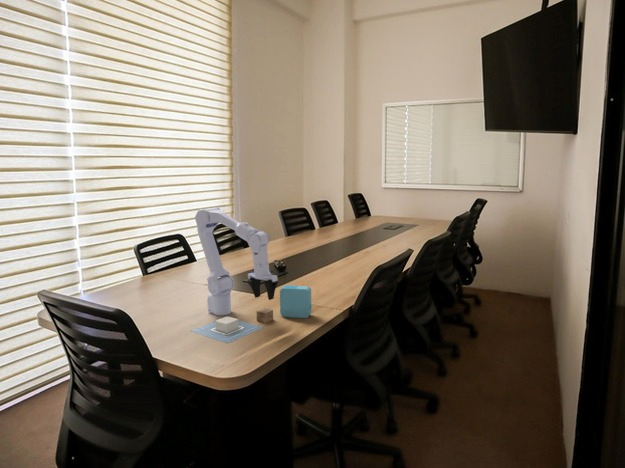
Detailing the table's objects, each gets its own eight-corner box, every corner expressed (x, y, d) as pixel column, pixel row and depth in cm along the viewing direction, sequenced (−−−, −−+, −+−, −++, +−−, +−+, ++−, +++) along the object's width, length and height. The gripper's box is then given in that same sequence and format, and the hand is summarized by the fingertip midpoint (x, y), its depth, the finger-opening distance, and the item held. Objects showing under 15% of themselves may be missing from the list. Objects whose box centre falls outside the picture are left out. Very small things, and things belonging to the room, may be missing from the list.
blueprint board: (190, 333, 164) (190, 330, 163) (227, 319, 178) (226, 316, 178) (227, 346, 152) (227, 342, 152) (264, 329, 166) (263, 326, 166)
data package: (311, 314, 182) (311, 286, 180) (309, 318, 178) (308, 289, 176) (283, 313, 184) (282, 285, 182) (280, 316, 180) (279, 288, 178)
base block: (215, 329, 164) (215, 320, 163) (227, 325, 169) (227, 316, 168) (226, 333, 160) (226, 324, 160) (238, 328, 165) (238, 319, 165)
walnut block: (256, 323, 173) (256, 311, 172) (264, 320, 177) (264, 307, 176) (265, 325, 171) (265, 313, 170) (273, 322, 174) (272, 310, 173)
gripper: (281, 262, 169) (285, 297, 170) (255, 260, 178) (259, 293, 180) (268, 266, 163) (271, 302, 165) (242, 263, 173) (245, 297, 174)
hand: (264, 298), depth 172 cm, fingers open, 7 cm apart
